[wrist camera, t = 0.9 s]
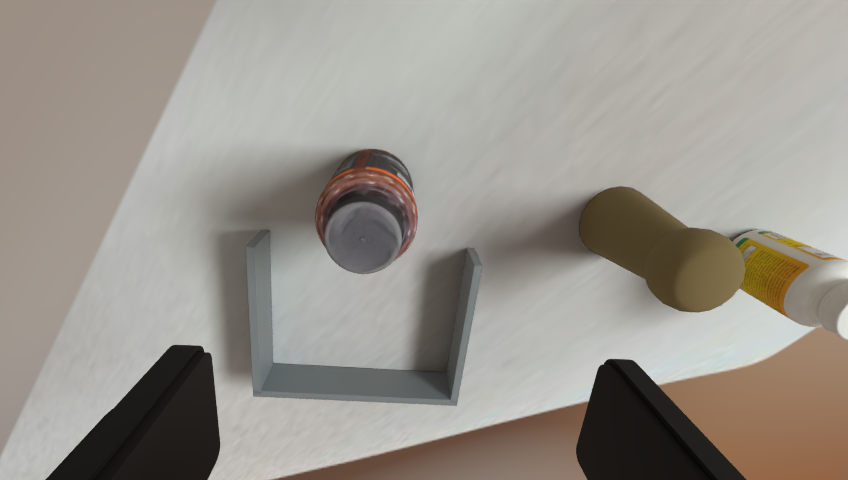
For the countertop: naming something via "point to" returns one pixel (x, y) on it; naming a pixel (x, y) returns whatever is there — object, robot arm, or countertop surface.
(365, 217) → the supplement bottle
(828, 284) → the supplement bottle
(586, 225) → the cork
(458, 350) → the fence
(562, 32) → the countertop surface
